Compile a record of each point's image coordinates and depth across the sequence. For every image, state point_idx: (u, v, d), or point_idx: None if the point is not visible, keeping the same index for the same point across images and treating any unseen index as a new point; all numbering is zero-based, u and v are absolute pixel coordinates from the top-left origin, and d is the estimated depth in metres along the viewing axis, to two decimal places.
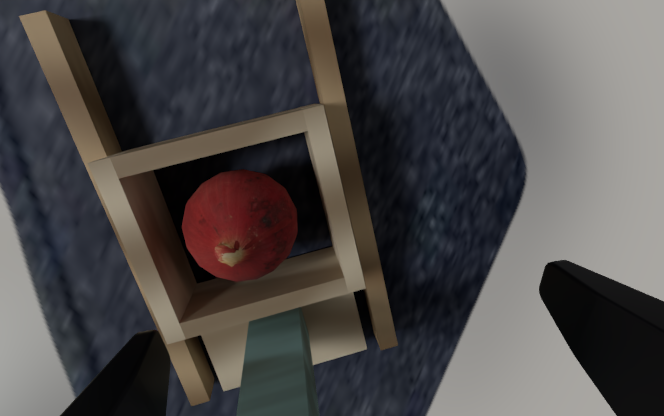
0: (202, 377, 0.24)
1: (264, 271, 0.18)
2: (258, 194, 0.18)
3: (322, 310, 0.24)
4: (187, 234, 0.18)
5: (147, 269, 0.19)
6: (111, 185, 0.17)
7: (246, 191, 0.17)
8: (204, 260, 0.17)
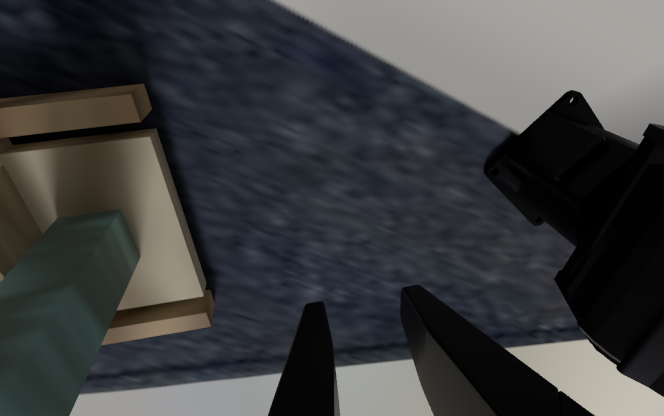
0: (179, 312, 0.22)
1: None
2: None
3: (81, 190, 0.18)
4: None
5: None
6: None
7: None
8: None
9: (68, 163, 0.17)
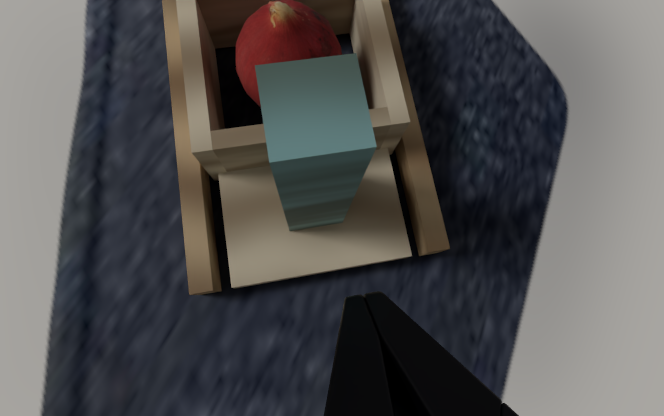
0: (211, 260, 0.20)
1: None
2: None
3: (359, 196, 0.22)
4: (241, 31, 0.19)
5: (194, 72, 0.19)
6: None
7: None
8: (252, 44, 0.18)
9: (384, 192, 0.22)
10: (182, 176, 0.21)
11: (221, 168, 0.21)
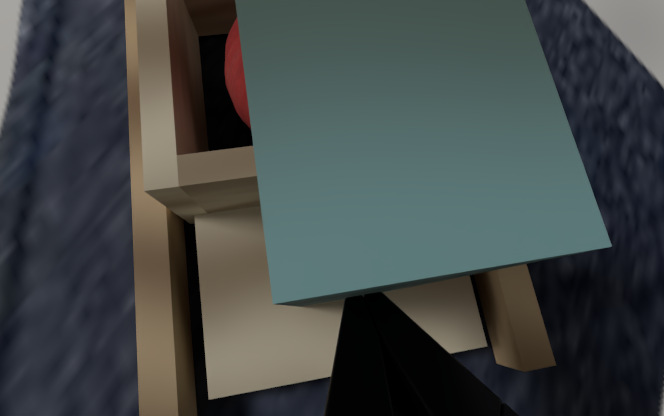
0: (179, 384, 0.13)
1: None
2: None
3: None
4: (234, 23, 0.12)
5: (156, 61, 0.12)
6: None
7: None
8: None
9: None
10: (139, 247, 0.13)
11: (199, 210, 0.14)
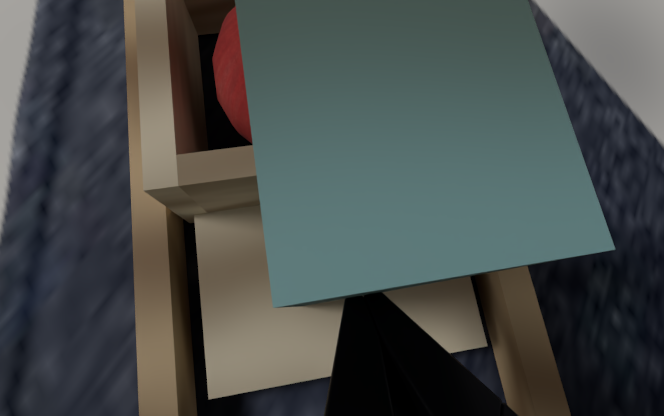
0: None
1: None
2: None
3: None
4: (220, 37, 0.12)
5: (155, 60, 0.12)
6: None
7: None
8: None
9: None
10: None
11: (199, 209, 0.14)
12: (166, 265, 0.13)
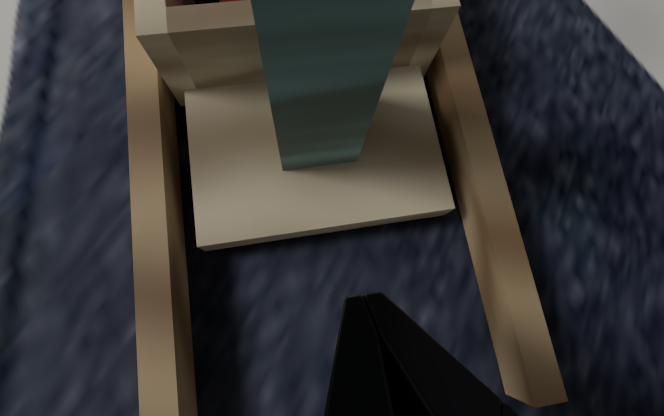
0: None
1: None
2: None
3: (381, 126, 0.15)
4: None
5: None
6: None
7: None
8: None
9: (415, 122, 0.16)
10: (140, 278, 0.13)
11: (188, 81, 0.15)
12: (158, 131, 0.14)
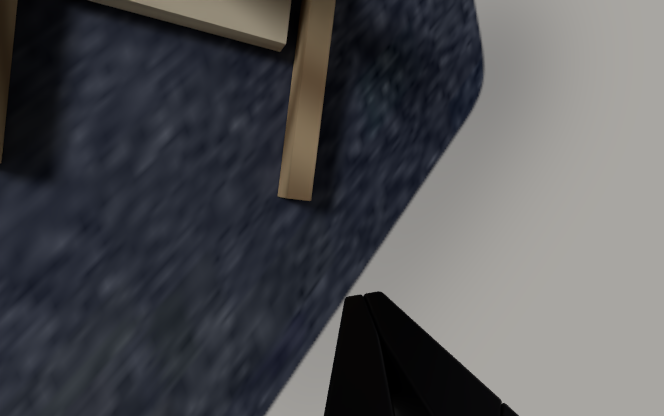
0: None
1: None
2: None
3: None
4: None
5: None
6: None
7: None
8: None
9: None
10: None
11: None
12: None
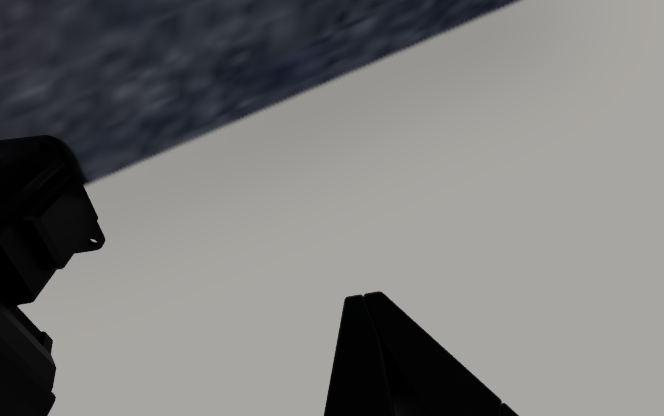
0: None
1: None
2: None
3: None
4: None
5: None
6: None
7: None
8: None
9: None
10: None
11: None
12: None
